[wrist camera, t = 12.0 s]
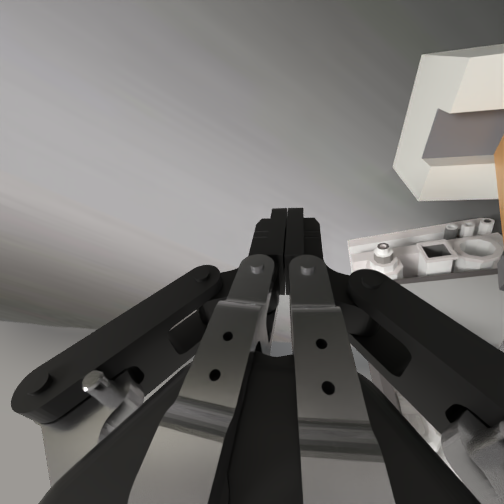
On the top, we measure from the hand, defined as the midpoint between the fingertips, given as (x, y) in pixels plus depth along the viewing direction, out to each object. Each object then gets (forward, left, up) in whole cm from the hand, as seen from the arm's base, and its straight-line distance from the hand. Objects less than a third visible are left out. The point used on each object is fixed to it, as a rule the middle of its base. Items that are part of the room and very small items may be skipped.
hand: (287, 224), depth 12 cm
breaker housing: (0, +17, -19) cm, 25 cm away
